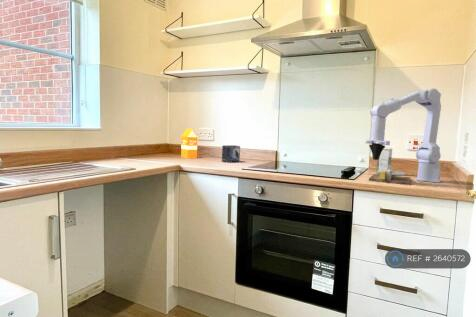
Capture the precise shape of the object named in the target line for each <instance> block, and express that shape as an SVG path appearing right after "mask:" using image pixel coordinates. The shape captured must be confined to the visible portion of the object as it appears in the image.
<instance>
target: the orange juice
mask: <svg viewBox="0 0 476 317" xmlns="http://www.w3.org/2000/svg"><path fill="white" fill-rule="evenodd" d="M180 146H181V150H180V157H181V158H184V159H198V135H197V134H196V132H195V131H194V129H193V128H185V129H184V132H183V133H182V134H181V145H180Z"/></svg>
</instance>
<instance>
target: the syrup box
mask: <svg viewBox="0 0 476 317" xmlns="http://www.w3.org/2000/svg"><path fill="white" fill-rule="evenodd" d="M392 156H393V147H386V146H385V148H384V149H383V150H382V152H381V154H380V157H379V160H376V161H377V162H376V163H377V164H376V173H375V174H379V173H377V171H378V170H387V169H391V166H392V165H391V164H392Z"/></svg>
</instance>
